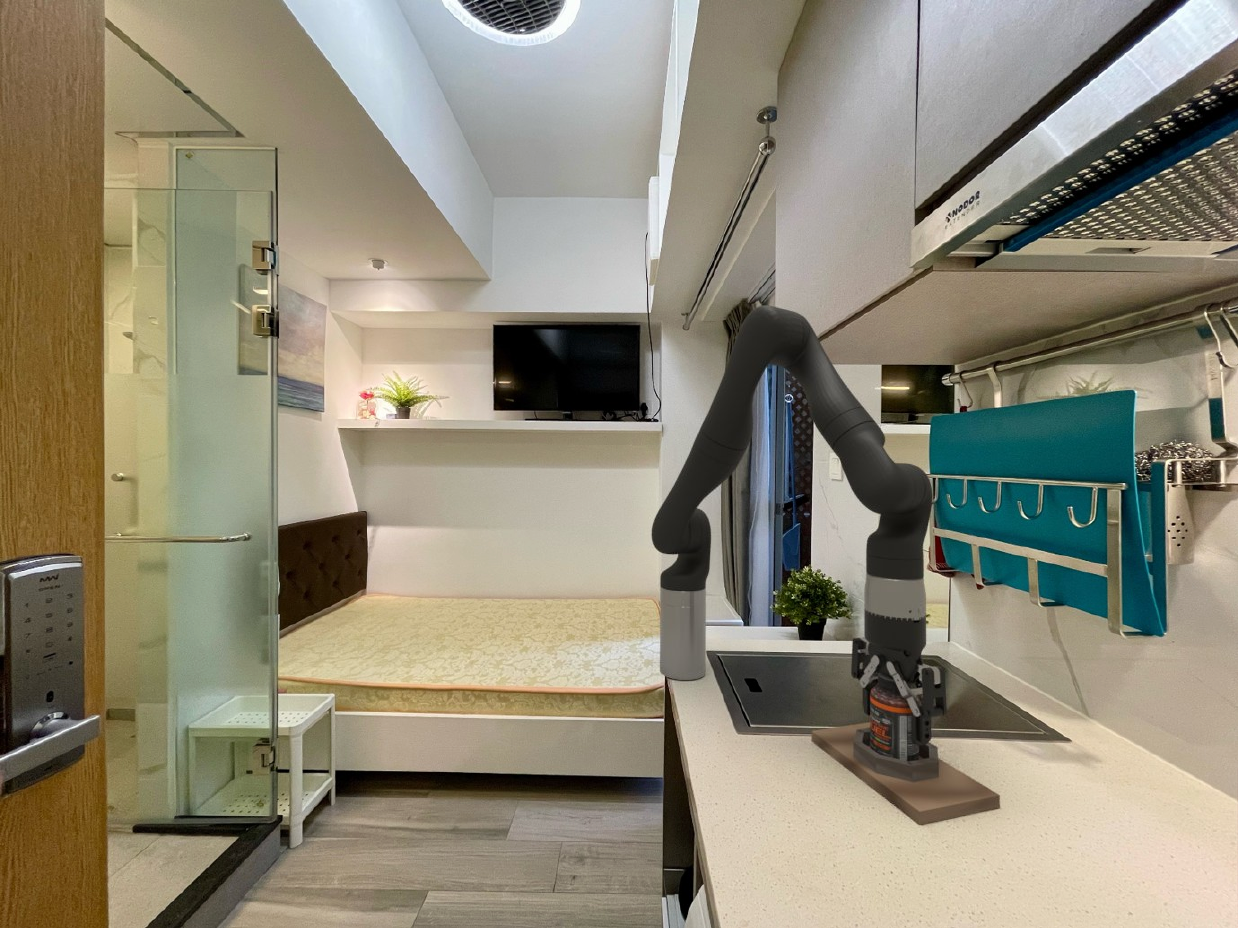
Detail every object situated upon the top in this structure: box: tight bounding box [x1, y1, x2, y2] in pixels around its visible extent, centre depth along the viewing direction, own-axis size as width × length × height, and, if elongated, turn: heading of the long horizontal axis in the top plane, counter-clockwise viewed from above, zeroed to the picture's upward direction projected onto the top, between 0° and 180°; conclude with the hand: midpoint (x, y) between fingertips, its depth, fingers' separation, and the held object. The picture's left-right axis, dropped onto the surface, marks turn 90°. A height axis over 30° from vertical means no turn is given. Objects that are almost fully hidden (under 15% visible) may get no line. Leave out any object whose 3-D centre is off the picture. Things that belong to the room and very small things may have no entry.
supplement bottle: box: [869, 672, 920, 762], centre depth 73 cm, size 6×6×11 cm
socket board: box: [811, 721, 1001, 826], centre depth 72 cm, size 20×12×4 cm, turn 16°
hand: (894, 727), depth 72 cm, fingers open, 8 cm apart
